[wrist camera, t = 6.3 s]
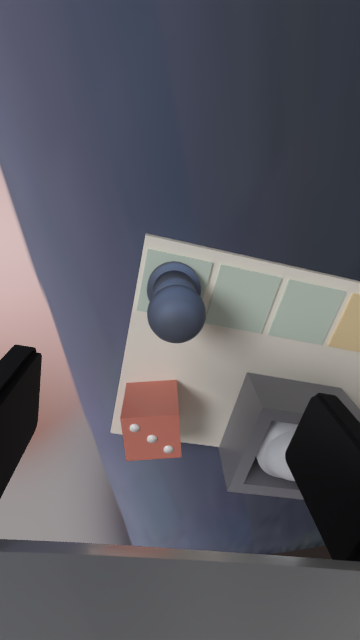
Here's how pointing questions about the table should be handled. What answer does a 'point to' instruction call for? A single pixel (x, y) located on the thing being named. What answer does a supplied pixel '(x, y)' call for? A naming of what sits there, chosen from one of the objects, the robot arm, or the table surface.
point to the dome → (276, 450)
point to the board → (243, 334)
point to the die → (151, 420)
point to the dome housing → (252, 424)
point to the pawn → (175, 302)
